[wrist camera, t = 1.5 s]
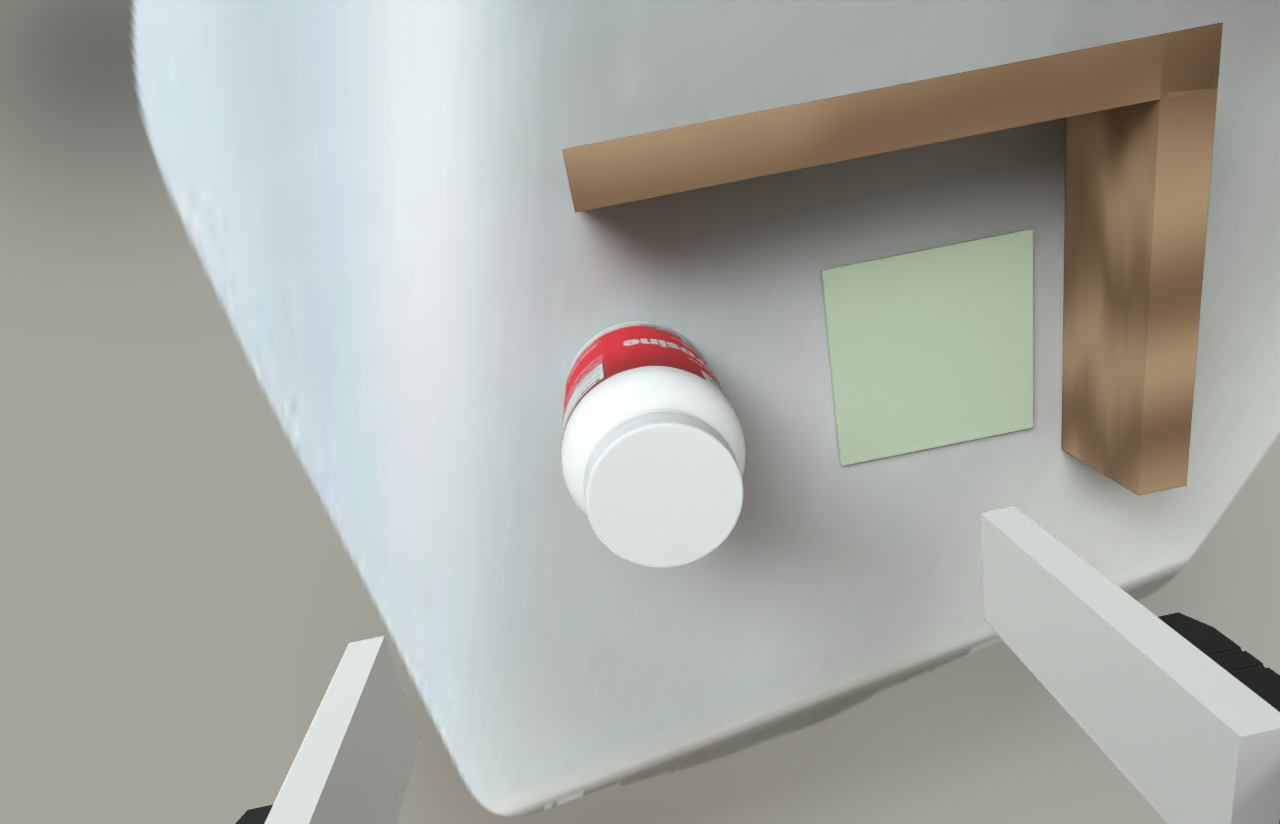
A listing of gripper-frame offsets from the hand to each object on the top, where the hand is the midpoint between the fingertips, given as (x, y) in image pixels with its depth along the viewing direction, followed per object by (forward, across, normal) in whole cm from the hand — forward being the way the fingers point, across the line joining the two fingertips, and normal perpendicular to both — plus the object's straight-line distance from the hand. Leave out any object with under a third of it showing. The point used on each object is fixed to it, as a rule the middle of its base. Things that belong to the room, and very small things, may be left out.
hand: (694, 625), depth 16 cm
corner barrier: (+17, +10, +2) cm, 20 cm away
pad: (+17, +13, -1) cm, 21 cm away
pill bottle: (+17, 0, 0) cm, 17 cm away
